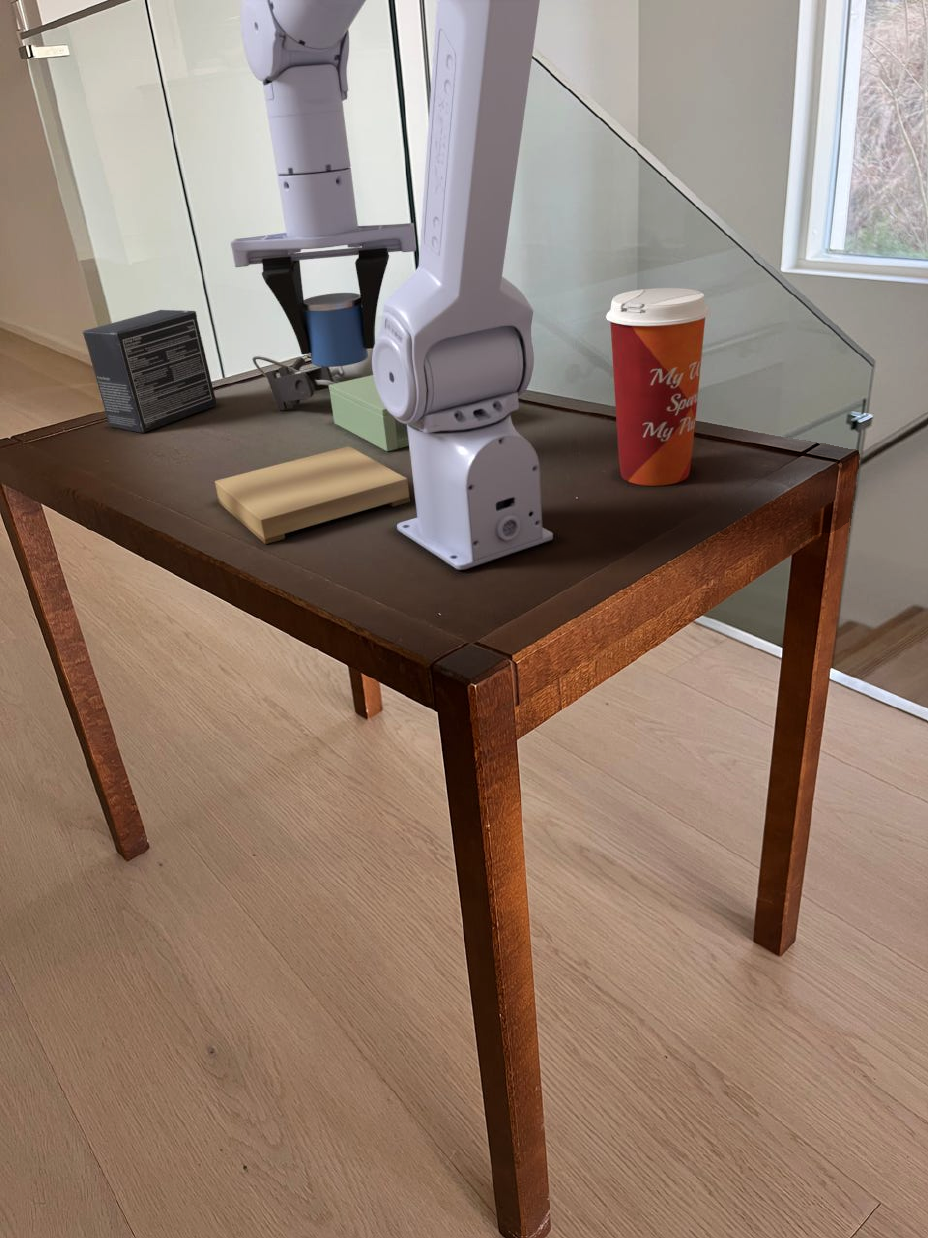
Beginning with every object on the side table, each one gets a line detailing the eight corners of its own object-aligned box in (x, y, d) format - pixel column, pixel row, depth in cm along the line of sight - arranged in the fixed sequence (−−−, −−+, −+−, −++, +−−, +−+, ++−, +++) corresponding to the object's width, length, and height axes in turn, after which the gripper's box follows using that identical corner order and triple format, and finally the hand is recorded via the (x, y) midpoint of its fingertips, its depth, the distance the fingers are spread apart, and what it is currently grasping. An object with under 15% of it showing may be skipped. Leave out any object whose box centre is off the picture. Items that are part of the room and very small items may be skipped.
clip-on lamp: (246, 417, 113) (306, 413, 98) (226, 364, 110) (285, 351, 95) (331, 385, 118) (401, 377, 103) (314, 334, 115) (382, 318, 100)
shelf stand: (495, 422, 93) (493, 382, 91) (387, 451, 88) (381, 409, 86) (435, 398, 102) (431, 361, 100) (334, 423, 97) (328, 384, 95)
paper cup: (670, 497, 73) (674, 309, 66) (588, 479, 78) (585, 302, 71) (721, 466, 78) (731, 288, 71) (641, 451, 83) (643, 283, 76)
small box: (182, 400, 110) (161, 307, 105) (219, 405, 107) (199, 309, 102) (105, 427, 103) (79, 328, 98) (143, 434, 100) (117, 332, 94)
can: (378, 358, 80) (371, 296, 77) (325, 370, 78) (316, 307, 75) (353, 349, 84) (345, 290, 81) (302, 360, 81) (292, 299, 79)
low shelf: (410, 501, 77) (407, 478, 76) (265, 544, 71) (260, 520, 70) (352, 467, 85) (349, 445, 84) (219, 503, 80) (214, 480, 79)
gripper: (408, 159, 77) (425, 330, 84) (230, 175, 77) (261, 345, 84) (406, 165, 71) (424, 349, 77) (213, 182, 71) (247, 365, 78)
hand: (339, 348), depth 80 cm, fingers closed on can, 5 cm apart
